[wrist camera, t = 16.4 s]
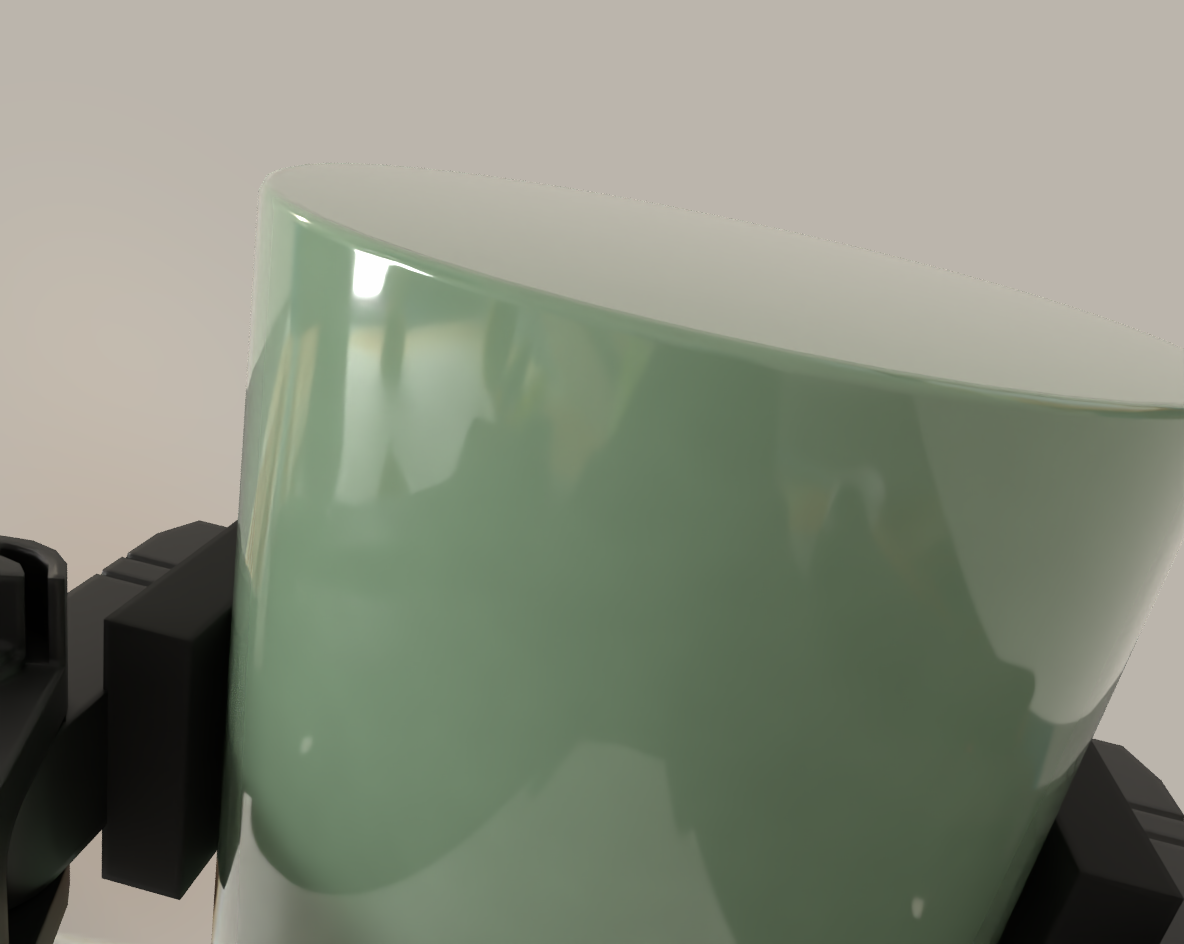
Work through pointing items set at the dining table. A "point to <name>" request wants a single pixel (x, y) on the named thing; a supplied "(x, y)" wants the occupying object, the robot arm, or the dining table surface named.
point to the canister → (663, 573)
